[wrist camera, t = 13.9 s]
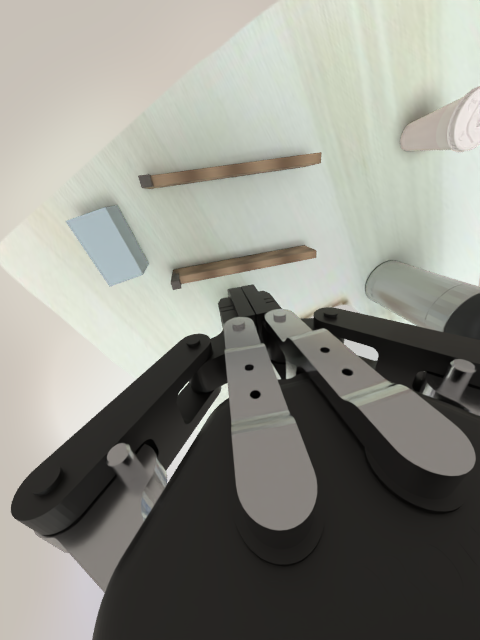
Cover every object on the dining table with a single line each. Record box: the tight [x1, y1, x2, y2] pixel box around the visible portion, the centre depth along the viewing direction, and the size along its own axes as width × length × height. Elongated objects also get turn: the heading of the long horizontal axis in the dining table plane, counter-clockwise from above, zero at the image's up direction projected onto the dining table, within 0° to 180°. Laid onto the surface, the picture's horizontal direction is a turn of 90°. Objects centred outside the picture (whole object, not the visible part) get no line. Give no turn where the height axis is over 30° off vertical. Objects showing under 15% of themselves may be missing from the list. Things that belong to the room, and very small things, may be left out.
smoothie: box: [400, 86, 480, 152], centre depth 30 cm, size 6×6×14 cm
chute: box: [138, 152, 321, 290], centre depth 33 cm, size 24×14×6 cm, turn 97°
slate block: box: [66, 205, 149, 286], centre depth 32 cm, size 5×9×6 cm, turn 17°
